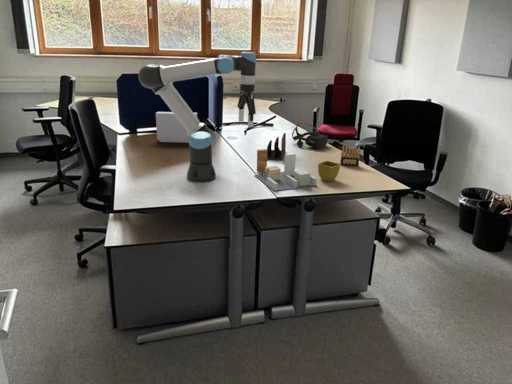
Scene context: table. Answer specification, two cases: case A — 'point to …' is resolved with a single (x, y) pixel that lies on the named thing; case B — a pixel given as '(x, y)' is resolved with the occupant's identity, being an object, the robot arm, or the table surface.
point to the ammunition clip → (350, 157)
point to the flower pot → (328, 170)
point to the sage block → (289, 169)
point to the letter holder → (276, 149)
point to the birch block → (262, 166)
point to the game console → (170, 128)
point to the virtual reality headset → (311, 138)
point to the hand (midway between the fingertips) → (245, 124)
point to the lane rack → (284, 182)
